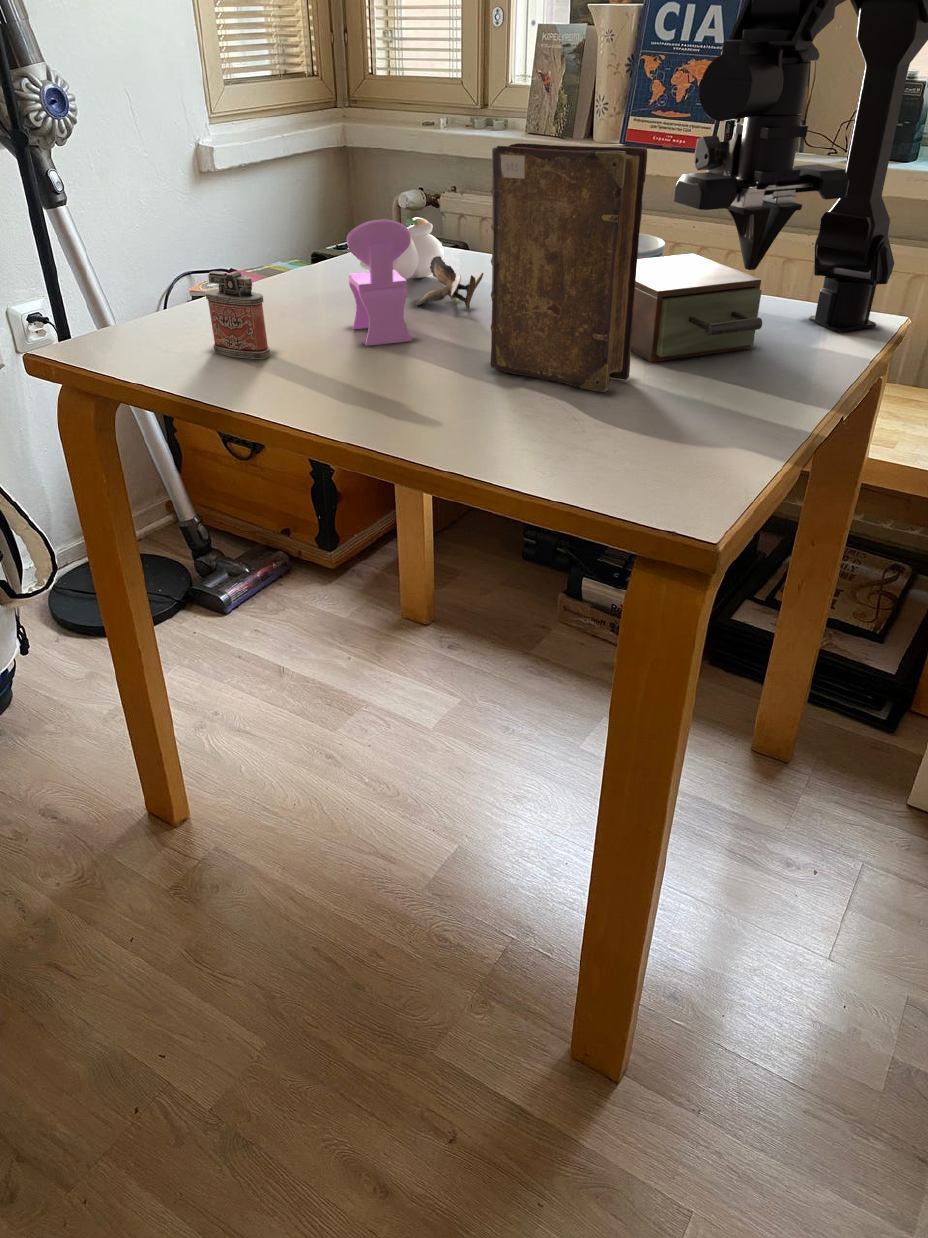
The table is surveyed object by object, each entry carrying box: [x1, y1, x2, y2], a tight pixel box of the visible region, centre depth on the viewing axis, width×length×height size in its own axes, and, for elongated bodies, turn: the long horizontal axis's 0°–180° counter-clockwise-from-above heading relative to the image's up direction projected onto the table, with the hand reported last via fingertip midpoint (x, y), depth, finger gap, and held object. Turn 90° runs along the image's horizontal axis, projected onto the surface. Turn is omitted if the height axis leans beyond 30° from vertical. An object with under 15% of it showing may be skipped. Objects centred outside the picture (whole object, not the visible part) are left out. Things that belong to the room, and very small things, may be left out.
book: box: [489, 142, 648, 393], centre depth 107 cm, size 17×7×25 cm, turn 53°
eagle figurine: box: [415, 256, 485, 311], centre depth 138 cm, size 8×7×9 cm
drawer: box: [656, 288, 763, 357], centre depth 119 cm, size 20×13×7 cm
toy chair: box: [346, 218, 413, 347], centre depth 124 cm, size 8×9×15 cm
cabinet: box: [631, 253, 762, 363], centre depth 123 cm, size 16×15×9 cm
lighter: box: [204, 270, 271, 360], centre depth 119 cm, size 8×3×10 cm, turn 65°
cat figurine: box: [359, 216, 445, 281], centre depth 151 cm, size 10×8×15 cm
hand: (750, 269), depth 107 cm, fingers closed
